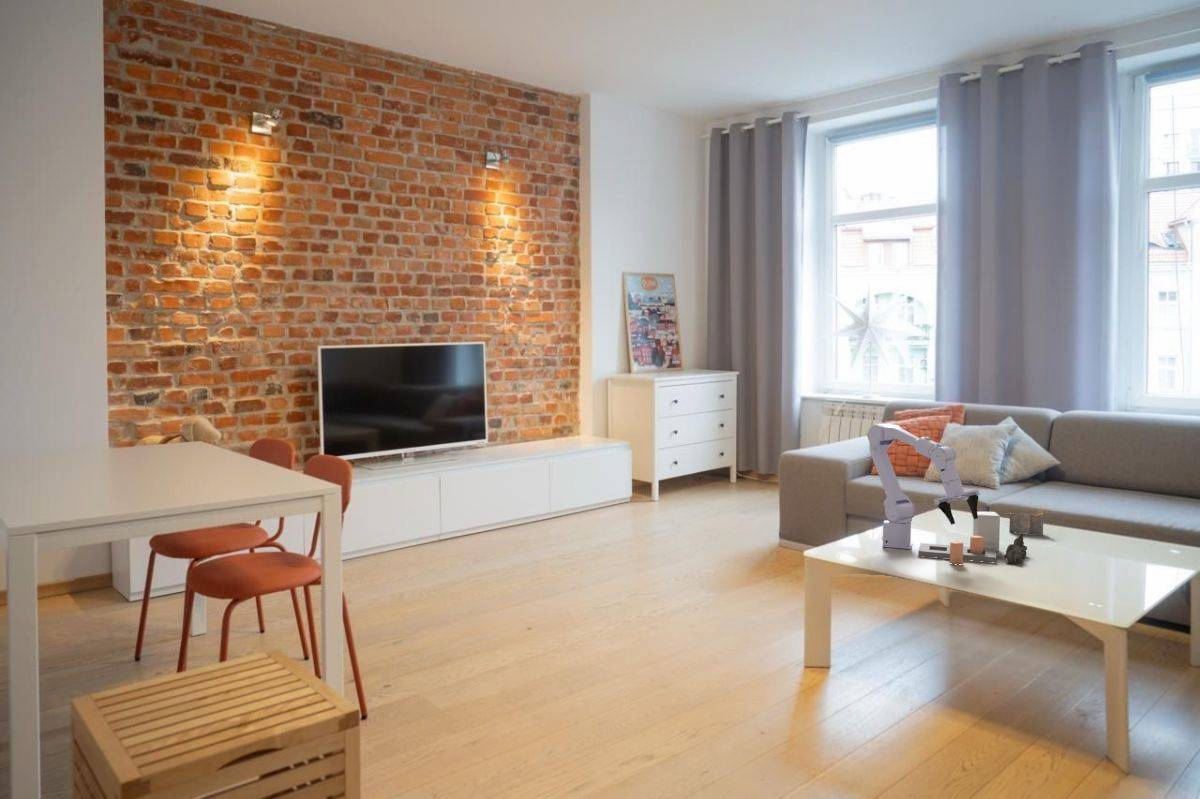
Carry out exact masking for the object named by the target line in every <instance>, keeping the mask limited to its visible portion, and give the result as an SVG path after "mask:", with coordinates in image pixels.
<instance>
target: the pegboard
mask: <svg viewBox="0 0 1200 799" xmlns="http://www.w3.org/2000/svg"><path fill="white" fill-rule="evenodd" d="M917 551H918V553H917V554H918V556H924V557H923V558H927V557H937V558H936V559H938V558H949V559H950V544H937V543H936V544H935V543H924V542H923V543H922V542H920V544H919V548H918V550H917ZM949 559H948V560H949ZM963 560H973V561H983V562H994V563H993V564H995V563H996V564H997V552H996V549H987V548H983V554H975V553H970V546H963ZM983 562H982V563H983Z"/></svg>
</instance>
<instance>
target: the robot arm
mask: <svg viewBox="0 0 1200 799" xmlns="http://www.w3.org/2000/svg"><path fill="white" fill-rule="evenodd" d="M866 437H867V439H868V443H869V444H868V445H869V453H870V456H871V457H872V461H873V464H874V466H875V469H876V471H877V474H878V477H879V480H880V482H881V485H882V488H883V490H884V492H885V495H886V498H885V500H884V501H883V505H884V509H885V510H884V513H885V517H886V518H887V520H883V526H882V537H881V538H882V547H883V548H893V549H905V550H911V549H912V546H913V543H912V541H911V539H912V536H911V534H912V522H913V518H914V517H916V510H917V509H916V507H915V504H914V503H912V501H911V499H910V497H909V496H908V495H907V494H905V493H904V492H903V491H902V488H901V485H900V483H899V481H898V478H897V475H896V472H895V470H894V467H893V464H892V462H891V459H890V457H889V455H888V450H889V448H890V446H891V445H893V443H894V442H895V441H896V440H898V441H900V442H902V443H905V444H907V445H908V446H909V445H910V446H912V447H914V450H915V452H916V453H918V454H920V455H922V456H924V457H926V458H928V459H929V460H930V461H931V463H933V464H934V465H935V466H936V469H937V470H938V472H939V475H940V479H941V482H942V485H943V489H944V492H945V494H946V496H942V497H938V498H935V499H933V503H934V505H935V506H937V507H938V508H939V510H940V511H941V513H943V514H944V515H945V517H946V518H947V519H948V521H949V523H950V525H954V524H956V523H955V522H956V521H955V519H954V515H953V513H952V509H951V503H950V502H955V501H958V500H959V501H960V500H964V499H966V503H967V505H968V507H969V509H970V513H971V516H972V518H974V519H977V518H978V515H977V511H978V504H979V496H980V495H981V494H980V491H979V489H978V488H977V489H972V490H968V491H965V490H964V487H963V483H962V481H961V477H960V474H959V471H958V468H957V465H956V462H955V460H956V458H957V457H956V456H957V454H956V451H955V449H954V448H953V447H951V446H950V445H945V446H943V445H942V443H941V442H936V441H934V440H931V437H929V436H921V437H918V436H916V435H915V434H913V433H911V432H909V431H907V430H905V429H904V428H902V427H901V426H900V425H897V424H895V423H892V422H889V423H881V424H872V425H870V427H869V429H868V431H867V433H866Z"/></svg>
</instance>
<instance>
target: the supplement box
mask: <svg viewBox="0 0 1200 799" xmlns="http://www.w3.org/2000/svg"><path fill="white" fill-rule="evenodd" d="M977 515H978V518H977V519H974V518H973V517H972V518H973V519H972V521H973V522H972V523H973V524H972V527H973V528H972V536H981V537H983V548H987V549H996V551H999V552H1000V528H1001V527H1000V525H1001V515H999V514H998V513H997V512H996V511H978V510H977Z"/></svg>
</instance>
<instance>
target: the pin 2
mask: <svg viewBox="0 0 1200 799" xmlns="http://www.w3.org/2000/svg"><path fill="white" fill-rule="evenodd" d="M969 539H970V540H969V547H970V553H975V554H983V537H981V536H973V535H970V538H969Z"/></svg>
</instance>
